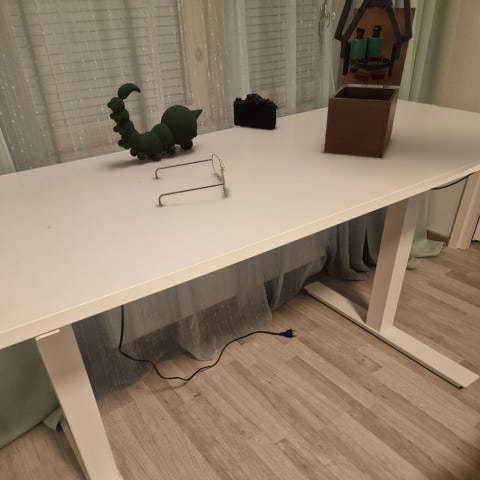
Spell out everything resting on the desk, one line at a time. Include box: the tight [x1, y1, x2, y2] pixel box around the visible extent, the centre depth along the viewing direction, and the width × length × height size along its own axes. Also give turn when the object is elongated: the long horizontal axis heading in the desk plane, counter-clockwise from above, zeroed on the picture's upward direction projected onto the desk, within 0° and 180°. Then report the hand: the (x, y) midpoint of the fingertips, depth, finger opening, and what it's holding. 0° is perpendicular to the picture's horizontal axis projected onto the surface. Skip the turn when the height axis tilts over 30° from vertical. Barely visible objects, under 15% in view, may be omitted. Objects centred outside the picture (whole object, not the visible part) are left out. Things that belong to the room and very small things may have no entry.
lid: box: [342, 7, 417, 87], centre depth 107 cm, size 16×15×1 cm
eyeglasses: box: [154, 153, 228, 206], centre depth 92 cm, size 16×15×5 cm
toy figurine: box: [106, 82, 203, 162], centre depth 107 cm, size 9×19×25 cm
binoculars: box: [347, 25, 390, 82], centre depth 100 cm, size 9×11×10 cm
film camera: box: [232, 92, 279, 131], centre depth 131 cm, size 15×10×9 cm, turn 59°
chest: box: [323, 85, 400, 159], centre depth 109 cm, size 16×15×13 cm
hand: (367, 75), depth 102 cm, fingers closed on binoculars, 10 cm apart
